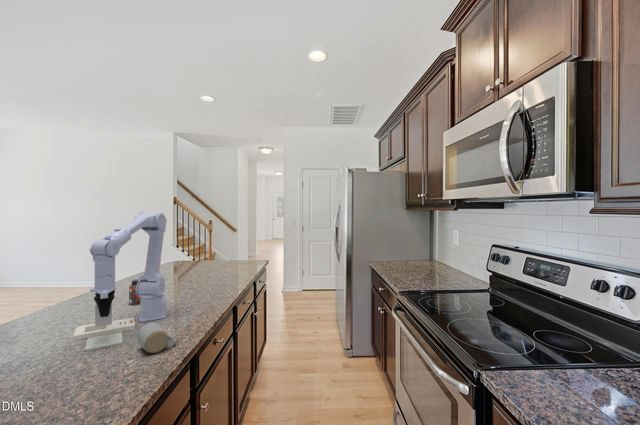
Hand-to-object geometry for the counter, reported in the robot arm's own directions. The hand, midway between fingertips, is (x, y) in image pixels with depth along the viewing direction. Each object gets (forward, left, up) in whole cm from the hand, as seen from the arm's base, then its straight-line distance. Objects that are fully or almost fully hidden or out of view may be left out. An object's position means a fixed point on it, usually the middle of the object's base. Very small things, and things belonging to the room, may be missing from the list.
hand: (104, 314), depth 102 cm
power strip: (0, -12, -9) cm, 15 cm away
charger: (0, 0, -3) cm, 3 cm away
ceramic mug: (-15, +15, -10) cm, 23 cm away
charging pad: (0, 0, -9) cm, 9 cm away
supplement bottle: (-11, -44, -10) cm, 46 cm away
